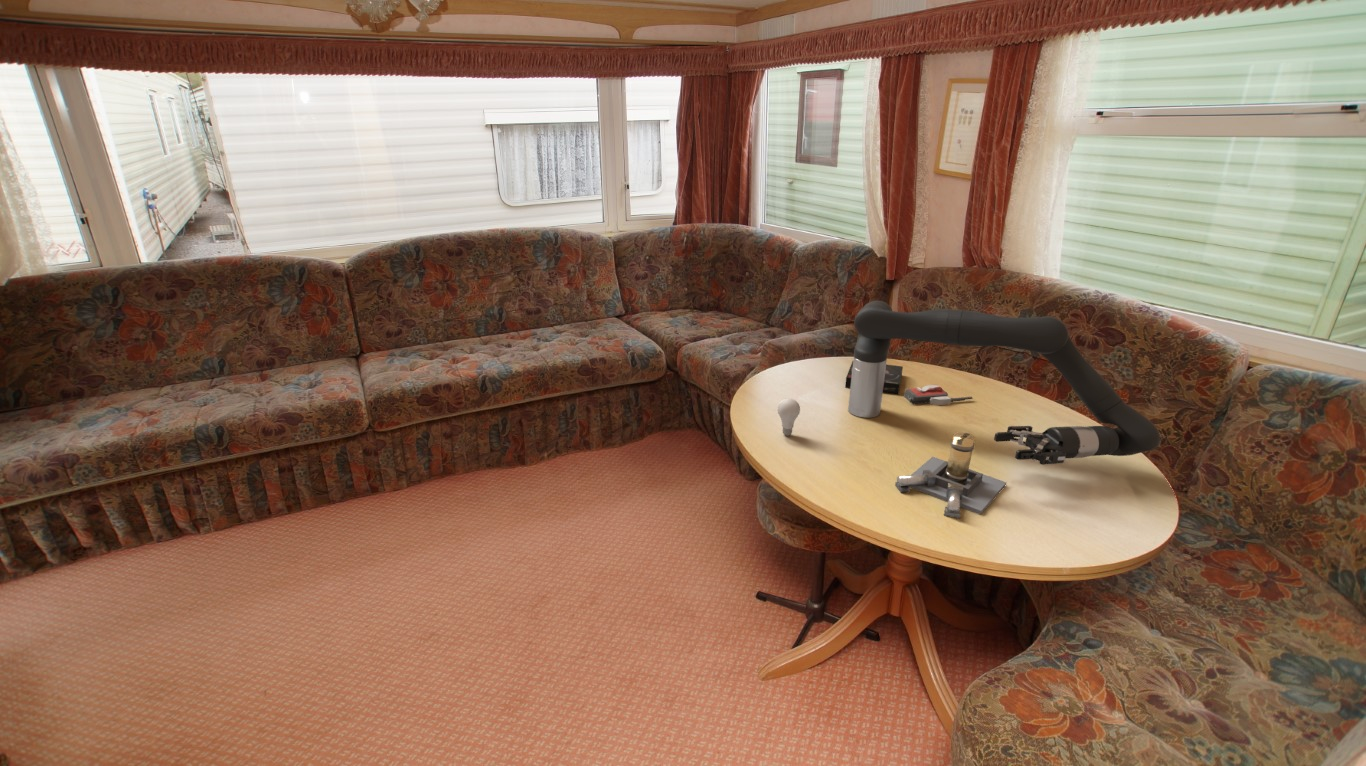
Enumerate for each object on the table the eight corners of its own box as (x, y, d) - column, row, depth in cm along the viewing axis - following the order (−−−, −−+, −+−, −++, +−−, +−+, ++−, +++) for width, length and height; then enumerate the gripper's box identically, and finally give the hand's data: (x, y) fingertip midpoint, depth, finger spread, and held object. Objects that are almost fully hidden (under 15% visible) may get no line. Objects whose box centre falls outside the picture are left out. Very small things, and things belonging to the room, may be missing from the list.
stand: (931, 459, 161) (933, 449, 160) (1005, 485, 149) (1008, 475, 148) (903, 484, 150) (904, 473, 149) (980, 514, 139) (982, 503, 138)
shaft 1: (927, 483, 151) (929, 470, 149) (933, 490, 148) (935, 477, 146) (895, 485, 150) (897, 472, 149) (900, 492, 147) (902, 479, 146)
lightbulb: (773, 430, 177) (775, 394, 172) (795, 429, 177) (797, 393, 173) (778, 440, 171) (780, 404, 167) (800, 439, 171) (803, 403, 167)
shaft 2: (945, 496, 145) (948, 483, 144) (960, 499, 144) (963, 486, 143) (943, 515, 139) (946, 501, 137) (959, 518, 138) (962, 504, 136)
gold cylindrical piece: (949, 473, 153) (957, 429, 148) (969, 481, 150) (979, 436, 145) (940, 481, 149) (948, 437, 145) (961, 489, 146) (970, 444, 142)
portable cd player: (901, 376, 213) (903, 365, 212) (897, 396, 198) (899, 384, 197) (851, 370, 219) (853, 359, 217) (845, 388, 204) (846, 377, 202)
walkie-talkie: (913, 409, 190) (973, 403, 193) (915, 395, 188) (976, 390, 191) (899, 397, 197) (957, 392, 201) (901, 384, 196) (959, 379, 199)
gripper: (1054, 414, 154) (991, 417, 152) (1095, 442, 141) (1027, 446, 139) (1047, 441, 157) (985, 445, 155) (1087, 471, 144) (1020, 475, 142)
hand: (1005, 445), depth 147 cm, fingers open, 8 cm apart
